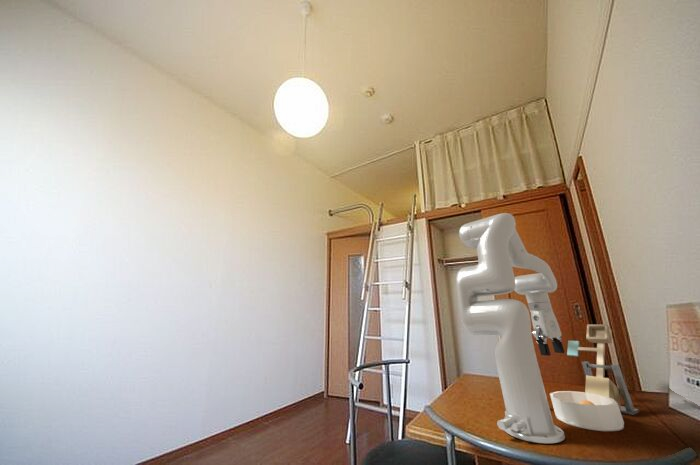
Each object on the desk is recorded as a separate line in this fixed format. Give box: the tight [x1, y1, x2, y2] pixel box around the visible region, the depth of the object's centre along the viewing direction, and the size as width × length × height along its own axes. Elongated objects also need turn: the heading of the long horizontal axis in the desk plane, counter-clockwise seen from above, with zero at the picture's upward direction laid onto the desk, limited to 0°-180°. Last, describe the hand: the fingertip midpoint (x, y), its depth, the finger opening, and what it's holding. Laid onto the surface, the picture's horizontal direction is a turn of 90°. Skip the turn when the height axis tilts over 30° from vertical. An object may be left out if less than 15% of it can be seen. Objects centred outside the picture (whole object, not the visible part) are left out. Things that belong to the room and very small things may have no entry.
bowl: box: [549, 390, 625, 432], centre depth 68 cm, size 14×14×5 cm
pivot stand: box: [581, 361, 640, 416], centre depth 76 cm, size 4×9×12 cm, turn 27°
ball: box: [580, 400, 594, 405], centre depth 69 cm, size 4×4×4 cm
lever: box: [566, 323, 622, 410], centre depth 81 cm, size 23×12×6 cm
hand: (553, 354), depth 97 cm, fingers open, 9 cm apart
